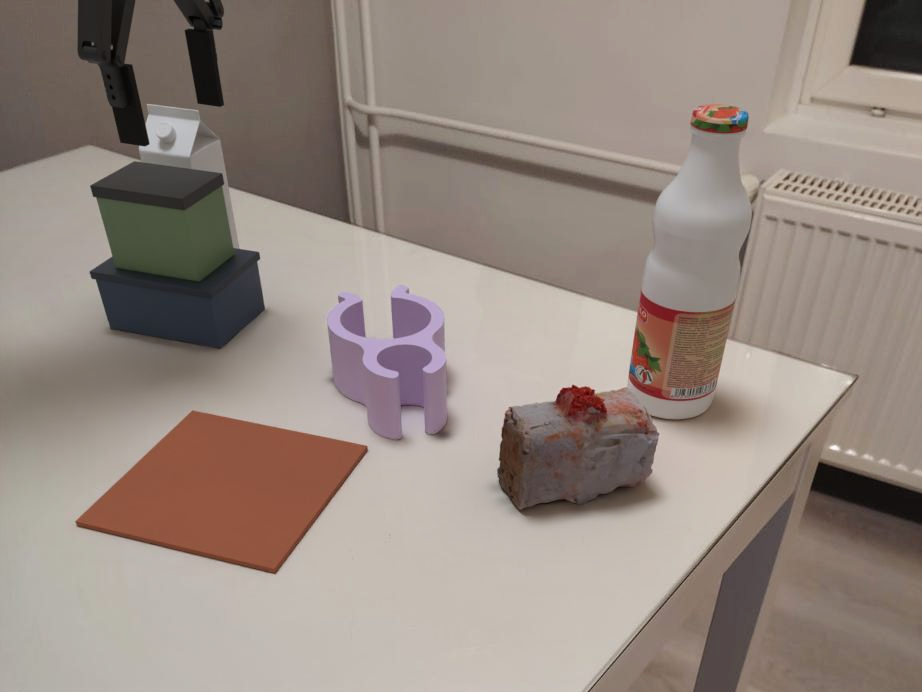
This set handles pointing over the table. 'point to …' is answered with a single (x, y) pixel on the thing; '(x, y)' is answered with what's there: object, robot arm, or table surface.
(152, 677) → the table surface
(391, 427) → the clip
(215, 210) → the box
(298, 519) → the mat
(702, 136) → the fruit juice
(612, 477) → the food item
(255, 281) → the lower tub
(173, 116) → the milk carton
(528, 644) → the table surface
